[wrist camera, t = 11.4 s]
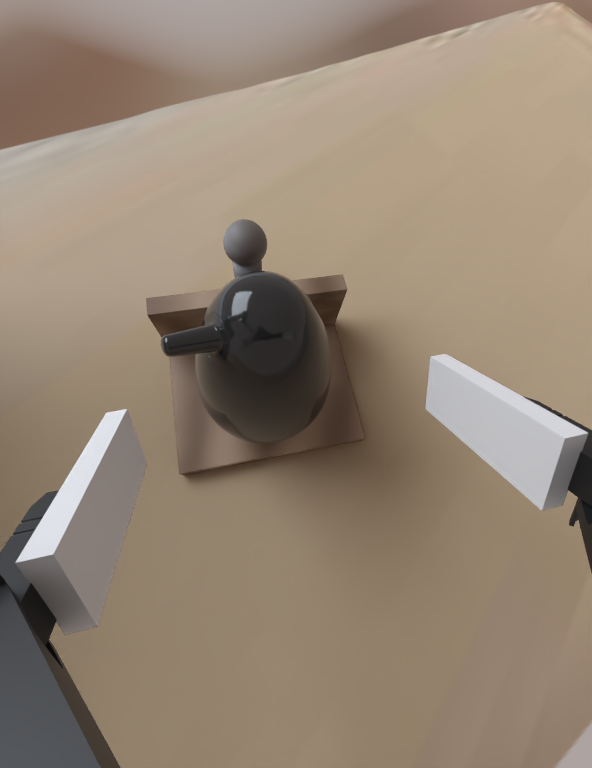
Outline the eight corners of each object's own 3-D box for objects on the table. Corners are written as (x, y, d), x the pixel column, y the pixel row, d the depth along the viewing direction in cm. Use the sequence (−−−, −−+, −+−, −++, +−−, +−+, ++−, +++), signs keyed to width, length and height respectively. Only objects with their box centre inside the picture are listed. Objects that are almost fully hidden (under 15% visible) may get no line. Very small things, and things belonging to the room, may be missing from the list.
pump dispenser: (188, 369, 30) (117, 249, 16) (290, 328, 33) (307, 191, 18) (232, 472, 28) (194, 439, 13) (341, 420, 30) (407, 342, 16)
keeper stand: (182, 474, 28) (110, 449, 15) (170, 334, 33) (105, 221, 20) (361, 440, 31) (429, 392, 18) (327, 312, 35) (362, 198, 22)
